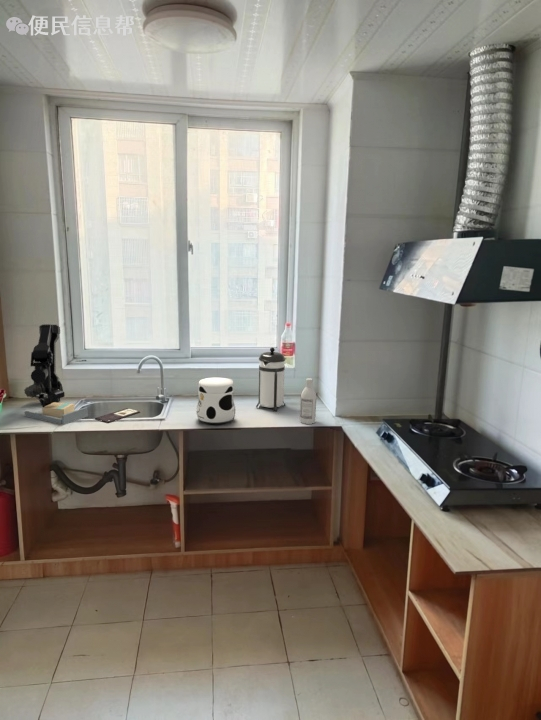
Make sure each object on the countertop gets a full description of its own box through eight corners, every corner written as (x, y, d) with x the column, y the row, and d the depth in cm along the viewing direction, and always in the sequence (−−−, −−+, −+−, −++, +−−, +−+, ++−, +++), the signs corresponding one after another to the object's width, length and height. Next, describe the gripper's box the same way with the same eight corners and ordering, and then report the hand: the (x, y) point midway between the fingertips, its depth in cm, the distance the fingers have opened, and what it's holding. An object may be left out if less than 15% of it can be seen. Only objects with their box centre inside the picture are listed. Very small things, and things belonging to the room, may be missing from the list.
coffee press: (291, 411, 225) (293, 350, 219) (259, 412, 221) (260, 350, 215) (282, 400, 241) (283, 343, 235) (251, 402, 237) (252, 344, 231)
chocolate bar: (94, 418, 206) (126, 408, 221) (95, 420, 206) (126, 410, 221) (108, 422, 201) (140, 411, 216) (108, 424, 202) (140, 413, 217)
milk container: (189, 418, 210) (189, 380, 206) (222, 412, 220) (222, 375, 217) (208, 429, 197) (208, 388, 193) (242, 422, 207) (243, 383, 203)
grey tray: (49, 411, 216) (48, 399, 214) (88, 419, 206) (87, 407, 205) (24, 419, 204) (23, 407, 203) (64, 428, 194) (63, 415, 193)
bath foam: (307, 418, 214) (308, 376, 210) (318, 422, 209) (320, 379, 205) (296, 421, 210) (298, 378, 206) (308, 425, 205) (309, 381, 201)
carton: (54, 411, 210) (53, 402, 209) (74, 413, 209) (74, 403, 208) (42, 417, 202) (42, 407, 201) (64, 419, 201) (63, 409, 200)
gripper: (12, 378, 201) (15, 412, 204) (42, 383, 194) (45, 419, 197) (34, 373, 211) (37, 405, 214) (64, 378, 203) (66, 412, 207)
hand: (45, 410), depth 208 cm, fingers closed
